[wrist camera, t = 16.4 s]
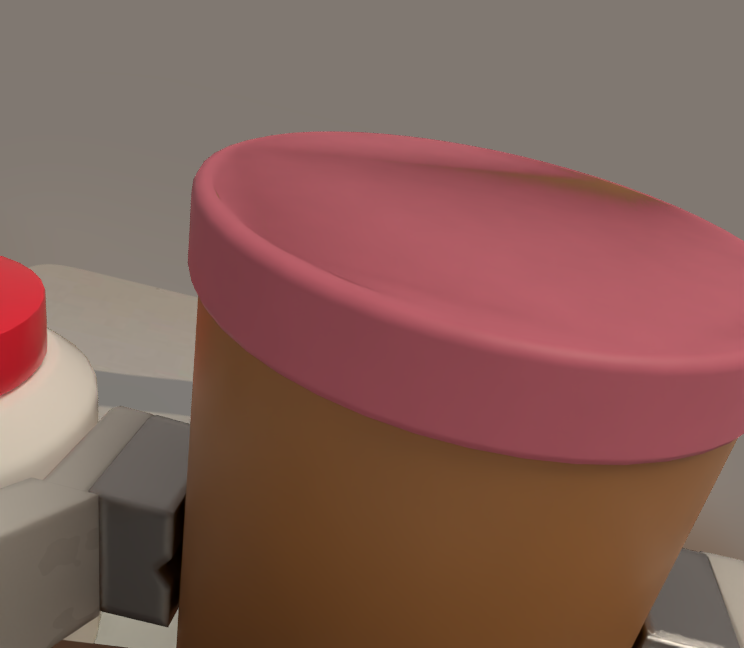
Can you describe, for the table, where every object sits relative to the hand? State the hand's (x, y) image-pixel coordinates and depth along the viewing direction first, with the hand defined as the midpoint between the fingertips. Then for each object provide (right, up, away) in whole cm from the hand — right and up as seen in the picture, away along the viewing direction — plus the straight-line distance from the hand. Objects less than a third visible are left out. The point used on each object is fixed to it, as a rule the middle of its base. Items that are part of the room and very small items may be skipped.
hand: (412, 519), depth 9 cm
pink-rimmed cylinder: (-1, -5, +2) cm, 6 cm away
